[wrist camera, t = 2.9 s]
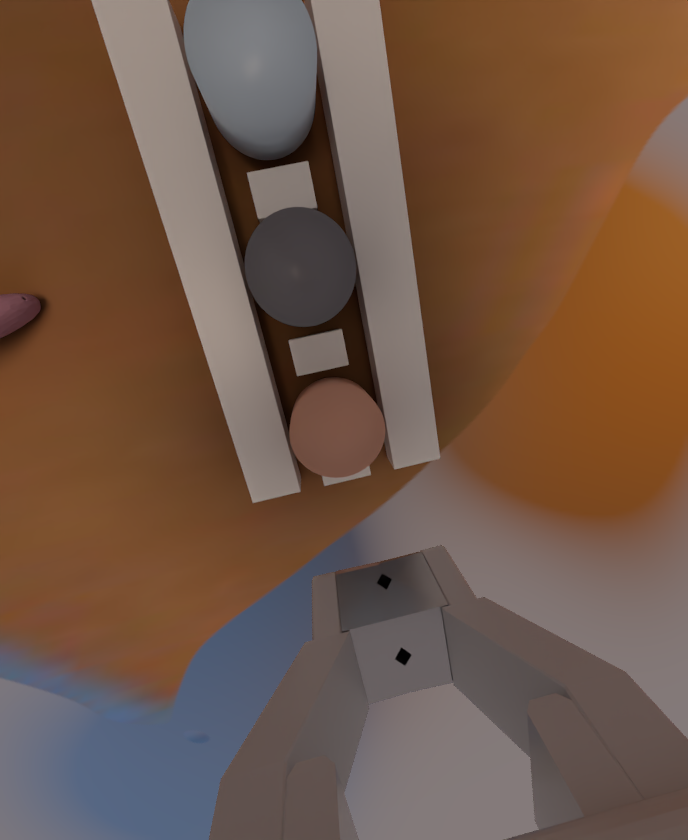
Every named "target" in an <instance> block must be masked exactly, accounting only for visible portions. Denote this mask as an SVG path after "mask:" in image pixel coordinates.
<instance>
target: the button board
mask: <svg viewBox="0 0 688 840" xmlns="http://www.w3.org/2000/svg"><path fill="white" fill-rule="evenodd" d="M91 1H92V4H93V7H94V10H95V13H96V16H97V20H98V23H99V26H100V29H101V32H102V35H103V38H104V41H105V44H106V48H107V51H108V54H109V57H110V60H111V63H112V66H113V69H114V72H115V76H116V79H117V82H118V85H119V88H120V91H121V94H122V97H123V100H124V104H125V107H126V110H127V113H128V116H129V119H130V122H131V125H132V128H133V132H134V135H135V138H136V141H137V144H138V147H139V150H140V153H141V156H142V160H143V163H144V166H145V169H146V172H147V175H148V178H149V181H150V184H151V188H152V191H153V194H154V197H155V200H156V203H157V206H158V209H159V212H160V216H161V219H162V222H163V225H164V228H165V231H166V234H167V237H168V240H169V244H170V247H171V250H172V253H173V256H174V259H175V262H176V265H177V268H178V272H179V275H180V278H181V281H182V284H183V287H184V290H185V293H186V296H187V300H188V303H189V306H190V309H191V312H192V315H193V318H194V321H195V324H196V328H197V331H198V334H199V337H200V340H201V343H202V346H203V349H204V352H205V356H206V359H207V362H208V365H209V368H210V371H211V374H212V377H213V380H214V384H215V387H216V390H217V393H218V396H219V399H220V402H221V405H222V408H223V412H224V415H225V418H226V421H227V424H228V427H229V430H230V433H231V436H232V440H233V443H234V446H235V449H236V452H237V455H238V458H239V461H240V464H241V468H242V471H243V474H244V477H245V480H246V483H247V486H248V489H249V492H250V496H251V499H252V502H253V503H255V502H259V501H264V500H268V499H272V498H276V497H280V496H285V495H289V494H293V493H297V492H301V475H300V472H299V468H298V464H297V460H296V457H295V454H294V452H293V449H292V446H291V443H290V436H289V430H288V427H287V423H286V419H285V416H284V412H283V408H282V404H281V401H280V397H279V393H278V389H277V386H276V382H275V378H274V374H273V371H272V367H271V363H270V360H269V356H268V352H267V348H266V345H265V341H264V337H263V333H262V330H261V326H260V322H259V318H258V315H257V311H256V307H255V304H254V300H253V296H252V293H251V291H250V289H249V286H248V283H247V279H246V275H245V266H244V262H243V259H242V255H241V251H240V248H239V244H238V240H237V236H236V233H235V229H234V225H233V221H232V218H231V214H230V210H229V206H228V203H227V199H226V195H225V192H224V188H223V184H222V180H221V177H220V173H219V169H218V165H217V162H216V158H215V154H214V150H213V147H212V143H211V139H210V136H209V132H208V128H207V124H206V121H205V117H204V113H203V109H202V106H201V102H200V98H199V94H198V91H197V87H196V83H195V80H194V77H193V74H192V72H191V70H190V67H189V64H188V60H187V56H186V52H185V45H184V38H183V35H182V31H181V27H180V25H179V23H178V20H177V18H176V16H175V13H174V11H173V9H172V6H171V4H170V2H169V0H91ZM305 7H306V9H307V11H308V13H309V16H310V19H311V21H312V24H313V28H314V32H315V37H316V44H317V76H318V82H319V87H320V93H321V98H322V104H323V109H324V115H325V120H326V126H327V131H328V137H329V142H330V148H331V153H332V158H333V164H334V169H335V175H336V180H337V186H338V191H339V197H340V202H341V208H342V213H343V219H344V224H345V230H346V235H347V237H348V239H349V241H350V243H351V246H352V248H353V251H354V255H355V260H356V279H355V284H356V290H357V295H358V301H359V306H360V312H361V317H362V323H363V328H364V334H365V339H366V345H367V350H368V356H369V361H370V367H371V372H372V377H373V383H374V388H375V394H376V399H377V405H378V407H379V409H380V411H381V413H382V415H383V418H384V422H385V439H384V443H385V449H386V454H387V458H388V460H389V461H390V463H391V465H392V466H393V468H394V469H399V468H403V467H407V466H411V465H415V464H420V463H424V462H428V461H432V460H436V459H440V452H439V445H438V437H437V430H436V422H435V415H434V407H433V400H432V392H431V385H430V377H429V370H428V362H427V355H426V347H425V340H424V332H423V325H422V317H421V310H420V302H419V295H418V287H417V280H416V272H415V265H414V257H413V250H412V242H411V235H410V227H409V220H408V212H407V205H406V197H405V190H404V182H403V175H402V167H401V160H400V152H399V144H398V137H397V129H396V122H395V114H394V107H393V99H392V92H391V84H390V77H389V69H388V62H387V54H386V47H385V39H384V32H383V24H382V17H381V9H380V2H379V0H305ZM247 176H248V180H249V184H250V188H251V192H252V197H253V201H254V205H255V209H256V213H257V217H258V220H259V222H260V223H261V222H262V221H263V220H264V219H265V218H266V217H268V216H269V215H271V214H272V213H274V212H277V211H279V210H281V209H285V208H290V207H305V208H311V209H314V210H317V203H316V198H315V193H314V188H313V183H312V178H311V173H310V168H309V163H308V161H305V162H300V163H294V164H289V165H284V166H279V167H274V168H269V169H263V170H258V171H253V172H248V173H247ZM288 342H289V346H290V350H291V354H292V358H293V362H294V366H295V370H296V374H297V376H301V375H306V374H310V373H315V372H319V371H324V370H328V369H333V368H337V367H342V366H346V365H349V362H348V357H347V352H346V347H345V342H344V337H343V332H342V329H335V330H330V331H326V332H321V333H316V334H312V335H307V336H302V337H298V338H293V339H290V340H289V341H288ZM369 475H371V472H370V467H369V466H368V467H366V468H365V469H364V470H362V471H360V472H358V473H356V474H354V475H350V476H347V477H339V478H333V477H325V476H322V479H323V483H324V486H327V485H331V484H335V483H339V482H344V481H348V480H352V479H356V478H361V477H365V476H369Z"/></svg>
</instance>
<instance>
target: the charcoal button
mask: <svg viewBox="0 0 688 840" xmlns="http://www.w3.org/2000/svg"><path fill="white" fill-rule="evenodd" d="M245 275H246V279H247V283H248V286H249V289H250V291H251V293H252V295H253V297H254V298H255V300H256V302H257V303H258V304H259V305H260V307H261V308H262V309H263V310H264V311H265V312H266V313H267V314H269V315H270V316H271V317H273V318H274V319H276V320H278V321H280V322H282V323H285V324H287V325H291V326H297V327H309V326H315V325H319V324H322V323H324V322H326V321H328V320H330V319H331V318H333V317H334V316H335V315H336V314H338V313H339V312H340V311H341V310H342V309H343V307H344V306H345V305H346V303H347V302H348V300H349V298H350V296H351V294H352V291H353V288H354V284H355V279H356V260H355V255H354V251H353V248H352V246H351V243H350V241H349V239H348V237H347V236H346V234H345V233H344V231H343V230H342V229H341V227H340V226H339V225H338V224H337V223H336V222H335V221H334V220H332V219H331V218H330V217H328V216H327V215H325V214H323V213H321V212H319V211H317V210H314V209H311V208H305V207H290V208H285V209H281V210H279V211H277V212H274V213H272V214H271V215H269V216H268V217H266V218H265V219H264V220H263V221H262V222H261V223H260V224H259V225H258V226H257V228H256V229H255V230H254V232H253V234H252V235H251V238H250V240H249V242H248V245H247V248H246V254H245Z"/></svg>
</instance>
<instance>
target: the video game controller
mask: <svg viewBox="0 0 688 840" xmlns="http://www.w3.org/2000/svg"><path fill="white" fill-rule="evenodd" d="M40 309H41V306H40V301H39V300H38V299H37V298H36V297H35V296H33V295H28V294H3V295H0V338H2V337H4V336H6V335H9V334H10V333H12V332H14V331H15V330H17V329H19V328H21V327H22V326H24V325H25V324H26V323H28V322H29V321H31V320H32V319H33V318H34V317H35V316H36V315H37V314H38V313H39V312H40Z"/></svg>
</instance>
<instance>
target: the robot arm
mask: <svg viewBox="0 0 688 840" xmlns="http://www.w3.org/2000/svg"><path fill="white" fill-rule="evenodd" d="M312 633H313V634H312V635H313V637H312V639H313V640H312V641H309V642H306V643H305V644H304V645H303V647H302V649H301V650H300V652H299V654H298V655H297V657H296V658H295V660H294V662H293V663H292V665H291V667H290V668H289V670H288V671H287V673H286V675H285V676H284V678H283V679H282V681H281V683H280V684H279V686H278V688H277V689H276V691H275V692H274V694H273V696H272V697H271V699H270V700H269V702H268V704H267V705H266V707H265V709H264V710H263V712H262V713H261V715H260V717H259V718H258V720H257V722H256V723H255V725H254V726H253V728H252V730H251V731H250V733H249V734H248V736H247V738H246V739H245V741H244V743H243V744H242V746H241V747H240V749H239V751H238V752H237V754H236V756H235V757H234V759H233V761H232V762H231V764H230V765H229V767H228V769H227V770H226V772H225V773H224V775H223V777H222V778H221V782H220V786H219V792H218V796H217V801H216V806H215V812H214V816H213V821H212V826H211V831H210V836H209V840H359V839H358V836H357V832H356V829H355V826H354V823H353V820H352V817H351V813H350V810H349V807H348V804H347V800H346V797H345V794H344V792H345V789H346V785H347V782H348V778H349V775H350V772H351V768H352V765H353V762H354V758H355V755H356V751H357V748H358V745H359V741H360V738H361V734H362V731H363V727H364V724H365V721H366V717H367V714H368V710H369V706H368V705H369V704H373V703H376V702H379V701H383V700H386V699H389V698H393V697H396V696H399V695H403V694H406V693H409V692H410V691H411V692H414V691H418V690H422V689H427V688H431V687H436V686H440V685H444V684H449V683H454V686H455V687H457V689H459V690H460V691H461V692H462V693H463V694H464V695H465V696H466V697H467V698H468V699H469V700H470V701H471V702H472V703H473V704H474V705H476V707H477V708H479V709H480V710H481V711H482V712H483V713H484V714H485V715H486V716H487V717H488V718H489V719H490V720H491V721H492V722H493V723H495V725H497V727H498V728H500V729H501V730H502V731H503V732H504V733H505V734H506V735H507V736H508V737H509V738H510V739H511V740H512V741H513V742H514V743H515V744H517V746H518V747H519V748H521V749H522V750H523V751H524V752H525V753H526V754H527V755H528V756H529V757H530V758H531V759H530V760H531V773H532V788H533V801H534V813H535V814H534V815H535V822H536V824H537V826H538V828H539V830H536V831H533V832H529V833H525V834H522V835H518V836H515V837H512V838H508V839H504V840H688V739H687V738H686V737H685V736H684V735H683V734H682V733H681V732H680V730H679V729H678V728H677V727H676V726H675V725H674V724H673V723H672V722H671V721H670V719H669V718H668V717H667V716H666V715H665V714H664V713H663V712H662V711H661V710H660V709H659V708H658V706H657V705H656V704H655V703H654V702H653V701H652V700H651V699H650V698H649V697H648V696H647V695H646V693H644V691H643V690H642V689H641V688H640V687H639V686H638V685H637V684H636V683H635V682H634V680H633V679H632V678H631V677H630V676H629V675H628V674H627V673H626V672H625V671H623V670H621V669H619V668H617V667H615V666H613V665H611V664H610V663H608V662H606V661H604V660H602V659H600V658H598V657H596V656H595V655H593V654H591V653H589V652H587V651H585V650H583V649H581V648H579V647H578V646H576V645H574V644H572V643H570V642H568V641H566V640H564V639H562V638H560V637H559V636H557V635H555V634H553V633H551V632H549V631H547V630H545V629H544V628H542V627H540V626H538V625H536V624H534V623H532V622H530V621H528V620H527V619H525V618H523V617H521V616H519V615H517V614H515V613H513V612H512V611H510V610H508V609H506V608H504V607H502V606H500V605H498V604H496V603H495V602H493V601H491V600H489V599H487V598H485V597H483V598H478V599H477V598H476V596H475V595H474V593H473V591H472V590H471V588H470V587H469V585H468V583H467V582H466V580H465V579H464V577H463V576H462V574H461V572H460V571H459V569H458V568H457V566H456V564H455V563H454V561H453V560H452V558H451V556H450V555H449V553H448V552H447V550H446V549H445V547H444V546H442V545H440V546H436V547H432V548H429V549H425V550H421V551H420V552H416V553H412V554H408V555H405V556H400V557H397V558H393V559H388V560H384V561H381V562H376V563H371V564H366V565H362V566H357V567H353V568H349V569H344V570H339V571H336V572H332V573H327V574H323V575H319V576H314V577H313V580H312Z"/></svg>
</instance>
